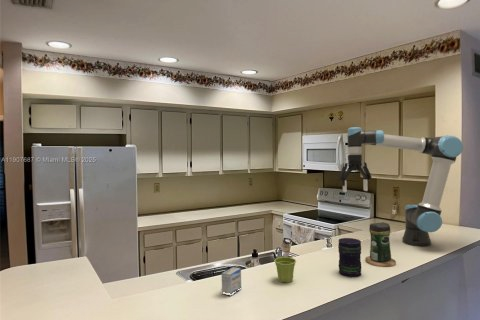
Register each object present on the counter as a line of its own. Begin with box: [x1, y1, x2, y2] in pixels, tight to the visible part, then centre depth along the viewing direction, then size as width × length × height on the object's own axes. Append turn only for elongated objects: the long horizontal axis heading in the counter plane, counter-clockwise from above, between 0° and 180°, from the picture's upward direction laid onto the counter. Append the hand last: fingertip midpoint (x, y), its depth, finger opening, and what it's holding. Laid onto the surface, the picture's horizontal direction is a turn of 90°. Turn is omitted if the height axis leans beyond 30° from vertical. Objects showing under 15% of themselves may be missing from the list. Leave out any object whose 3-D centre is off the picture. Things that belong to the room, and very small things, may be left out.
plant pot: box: [273, 256, 297, 283], centre depth 139 cm, size 9×9×9 cm
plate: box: [364, 255, 397, 268], centre depth 160 cm, size 14×14×1 cm
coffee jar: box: [368, 222, 392, 262], centre depth 160 cm, size 10×8×19 cm
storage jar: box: [337, 237, 362, 278], centre depth 146 cm, size 10×10×15 cm
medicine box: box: [221, 266, 242, 294], centre depth 128 cm, size 8×4×9 cm, turn 148°
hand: (355, 191), depth 185 cm, fingers open, 13 cm apart
